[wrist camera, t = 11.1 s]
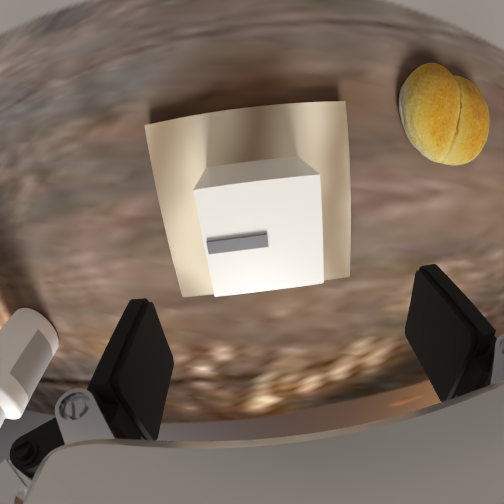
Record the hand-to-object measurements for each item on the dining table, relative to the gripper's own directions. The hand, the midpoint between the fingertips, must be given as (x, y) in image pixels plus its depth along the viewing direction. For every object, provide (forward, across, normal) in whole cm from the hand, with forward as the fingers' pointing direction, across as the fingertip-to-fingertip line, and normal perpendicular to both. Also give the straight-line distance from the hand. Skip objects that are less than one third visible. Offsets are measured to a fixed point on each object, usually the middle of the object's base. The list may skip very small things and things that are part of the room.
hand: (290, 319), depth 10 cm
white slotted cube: (+13, +1, 0) cm, 13 cm away
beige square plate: (+15, +1, 0) cm, 15 cm away
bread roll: (+16, -16, -6) cm, 23 cm away
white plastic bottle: (+14, +28, +11) cm, 33 cm away
